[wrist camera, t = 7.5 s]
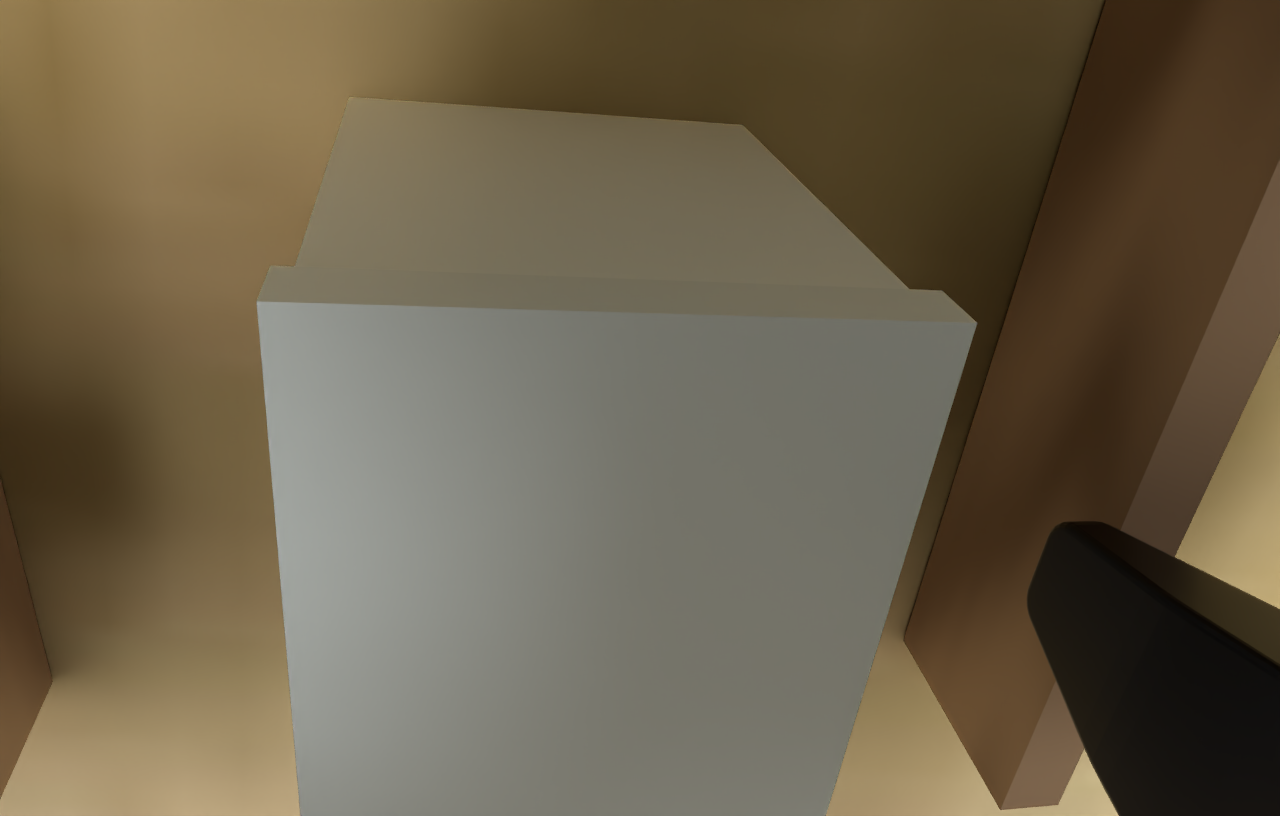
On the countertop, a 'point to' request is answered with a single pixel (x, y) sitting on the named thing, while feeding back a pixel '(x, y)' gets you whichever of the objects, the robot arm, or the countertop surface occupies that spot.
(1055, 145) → the countertop surface
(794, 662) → the light grey block
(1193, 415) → the brown shallow wooden tray
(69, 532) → the countertop surface
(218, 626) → the countertop surface
